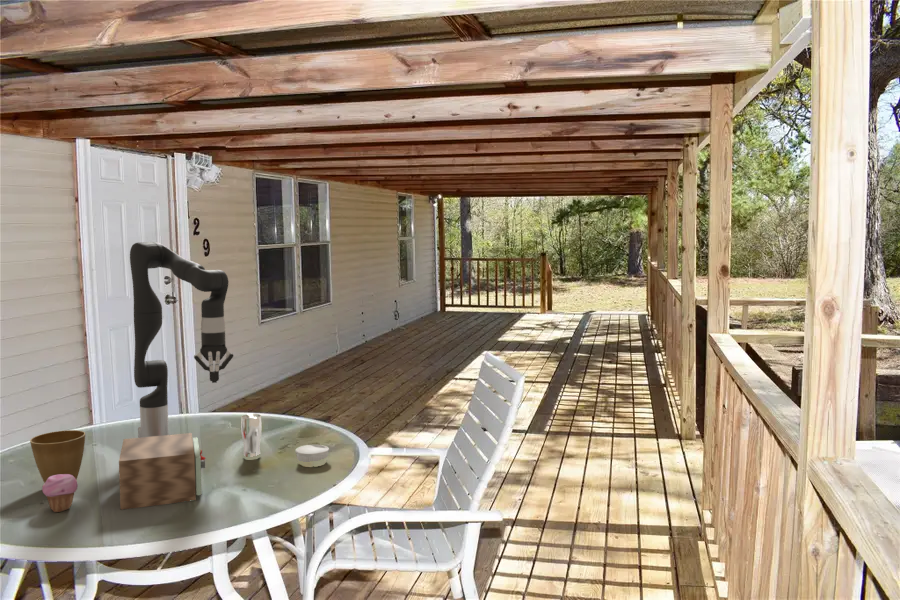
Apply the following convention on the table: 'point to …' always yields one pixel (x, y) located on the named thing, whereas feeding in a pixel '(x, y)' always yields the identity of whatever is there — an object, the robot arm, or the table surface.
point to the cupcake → (60, 491)
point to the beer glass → (251, 434)
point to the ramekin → (311, 452)
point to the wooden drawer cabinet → (157, 470)
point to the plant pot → (58, 452)
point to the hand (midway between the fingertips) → (214, 382)
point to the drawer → (198, 466)
